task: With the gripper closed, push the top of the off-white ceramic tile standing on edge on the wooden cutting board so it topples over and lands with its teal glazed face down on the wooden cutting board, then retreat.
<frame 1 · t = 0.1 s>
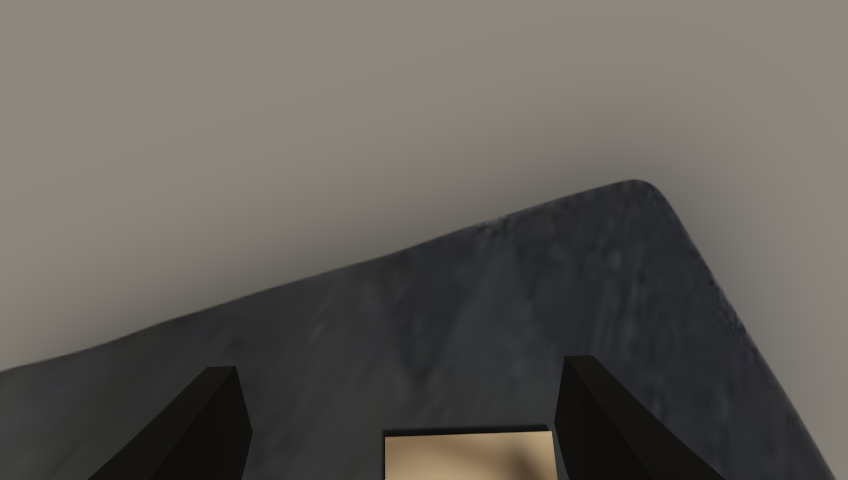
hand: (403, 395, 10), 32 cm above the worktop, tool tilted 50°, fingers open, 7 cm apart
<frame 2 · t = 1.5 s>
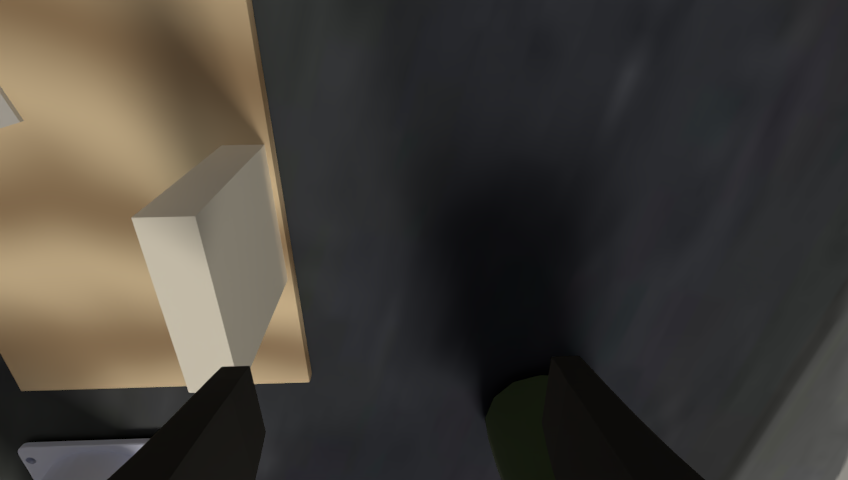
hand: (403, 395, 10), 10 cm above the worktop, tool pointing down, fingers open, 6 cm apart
character mug: (539, 405, 26), on the worktop
tile: (257, 217, 19), point 1 cm above the worktop, touching wooden cutting board
wooden cutting board: (115, 214, 19), on the worktop
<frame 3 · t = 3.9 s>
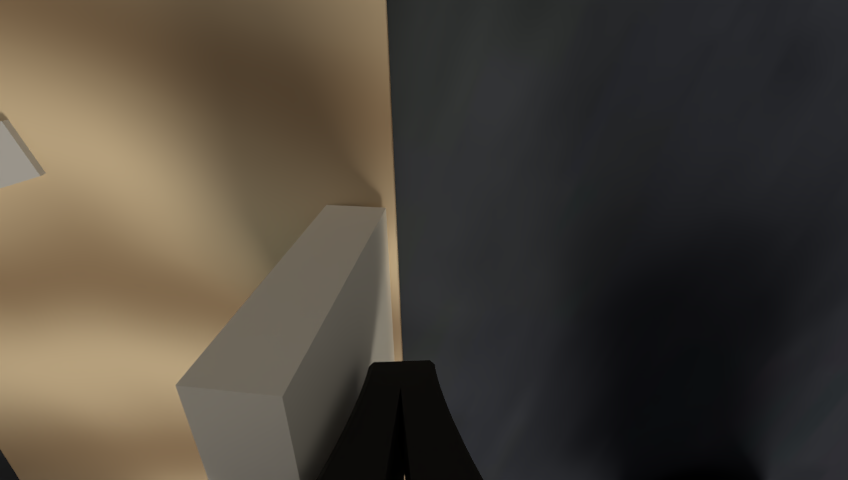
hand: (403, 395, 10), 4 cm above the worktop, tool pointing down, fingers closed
tile: (364, 301, 14), point 1 cm above the worktop, tilted 10°, touching gripper, wooden cutting board
wooden cutting board: (167, 292, 14), on the worktop
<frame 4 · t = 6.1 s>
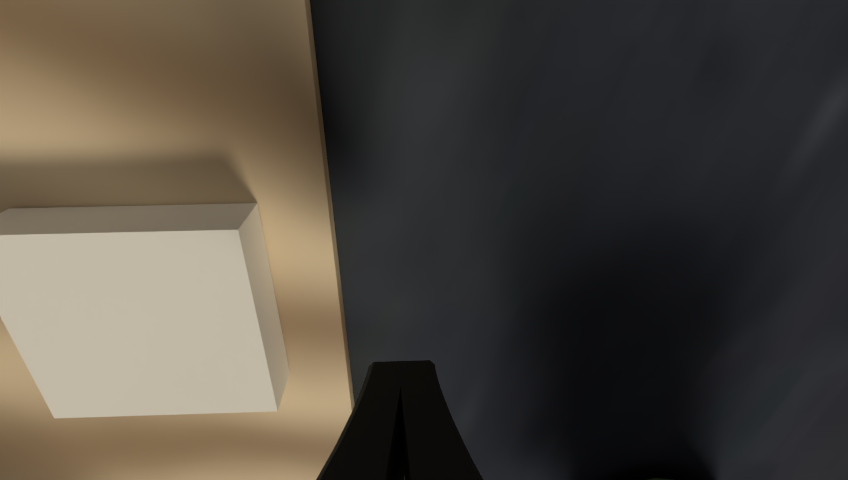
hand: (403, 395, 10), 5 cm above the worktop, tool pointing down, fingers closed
tile: (268, 312, 13), point 1 cm above the worktop, tilted 90°, touching wooden cutting board
wooden cutting board: (111, 288, 14), on the worktop
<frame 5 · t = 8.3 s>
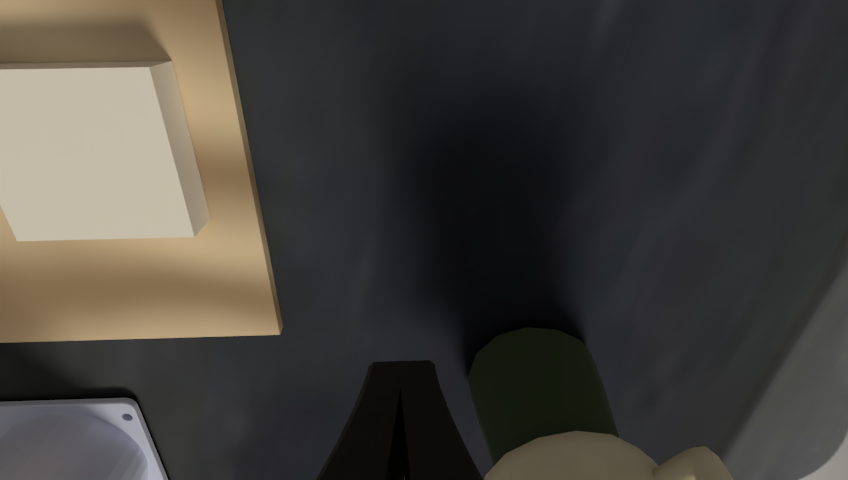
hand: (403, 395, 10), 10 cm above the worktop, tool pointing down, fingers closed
character mug: (526, 363, 24), on the worktop
tile: (183, 152, 17), point 1 cm above the worktop, tilted 90°, touching wooden cutting board
wooden cutting board: (64, 144, 18), on the worktop
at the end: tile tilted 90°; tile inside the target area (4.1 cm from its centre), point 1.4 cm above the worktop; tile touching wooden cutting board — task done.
